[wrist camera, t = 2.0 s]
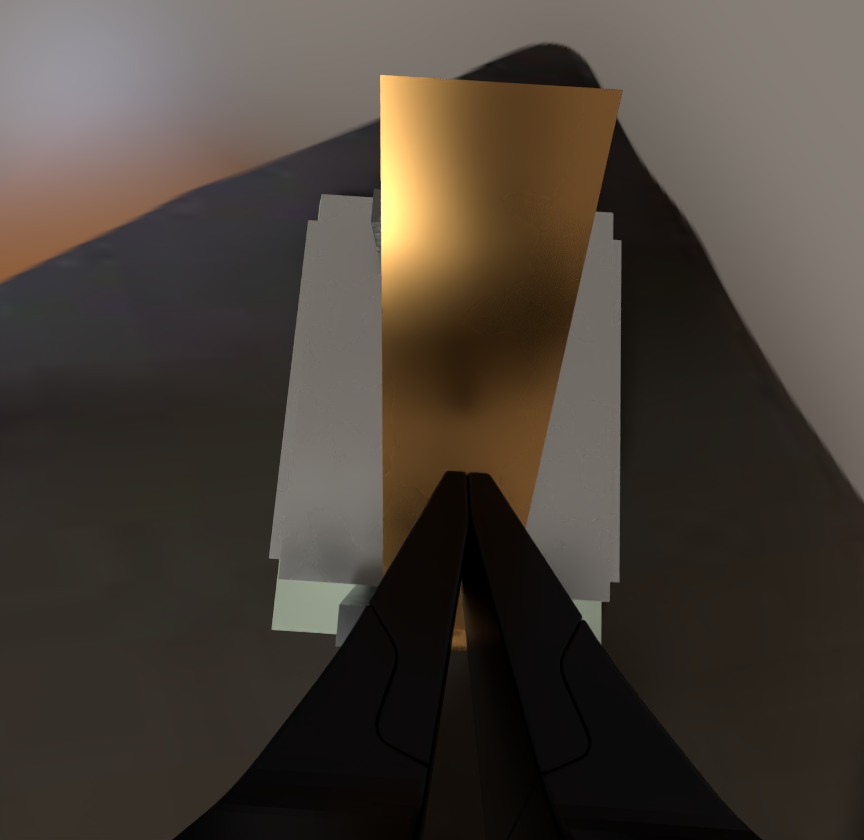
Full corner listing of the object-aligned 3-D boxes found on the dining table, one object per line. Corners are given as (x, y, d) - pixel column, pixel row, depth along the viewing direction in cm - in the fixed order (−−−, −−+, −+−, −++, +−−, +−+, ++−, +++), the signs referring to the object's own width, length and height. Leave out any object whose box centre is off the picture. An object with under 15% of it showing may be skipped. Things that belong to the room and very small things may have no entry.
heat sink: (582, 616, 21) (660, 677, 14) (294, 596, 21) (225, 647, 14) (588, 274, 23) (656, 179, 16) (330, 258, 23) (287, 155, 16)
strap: (495, 626, 16) (498, 661, 15) (386, 618, 16) (382, 653, 15) (605, 91, 8) (628, 89, 7) (388, 78, 8) (378, 73, 7)
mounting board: (589, 641, 22) (600, 652, 20) (282, 620, 22) (271, 629, 20) (595, 234, 25) (605, 217, 23) (326, 217, 25) (320, 199, 24)
